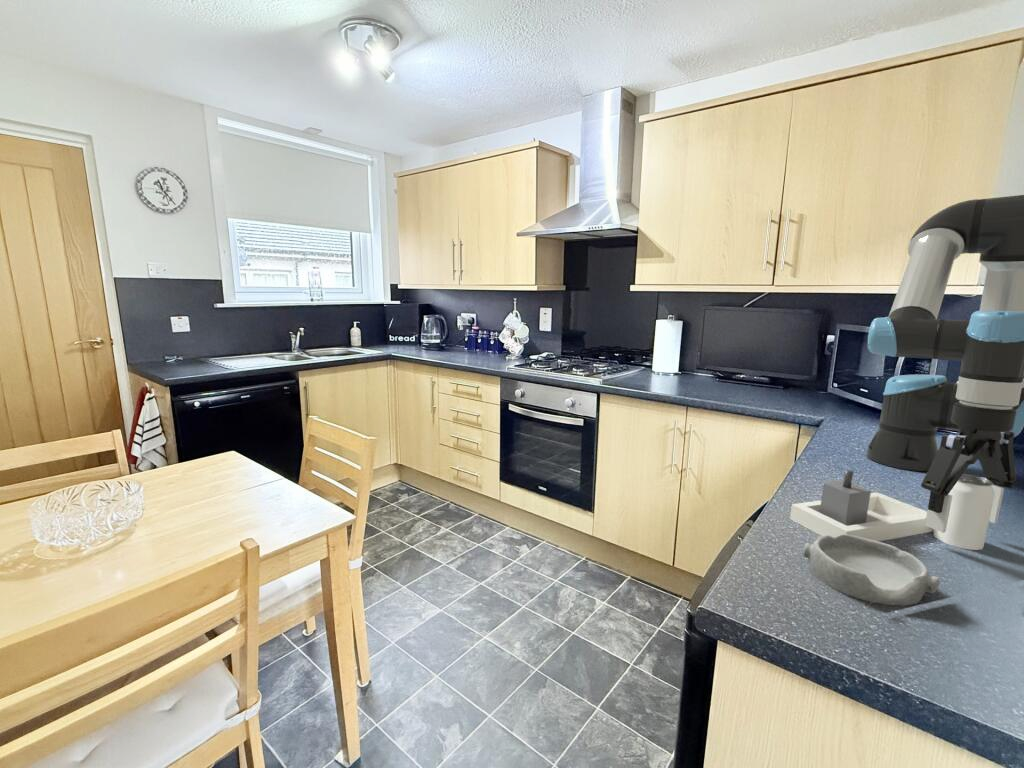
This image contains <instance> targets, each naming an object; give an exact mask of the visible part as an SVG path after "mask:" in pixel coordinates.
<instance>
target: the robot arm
mask: <svg viewBox="0 0 1024 768" xmlns="http://www.w3.org/2000/svg"><path fill="white" fill-rule="evenodd" d="M907 254H908V255H909V259H908V261H907V262H908V263H907V264H906V267H905V270H904V273H903V275H902V278H901V281H900V284H899V287H898V289H897V292H896V295H895V297H894V300H893V303H892V306H891V309H890V311H889V314H888V316H885V317H876V318H874V319H873V320H872V321H871V324H870V326H869V328H868V329H869V330H868V335H867V349H868V351H869V352H870V353H871V354H874V355H880V356H888V357H893V358H895V357H897V358H899V357H900V358H914V359H927V360H928V359H929V360H930V359H931V360H940V361H950V362H961V365H960V366H961V367H960V371H959V375H958V378H957V381H956V382H949V381H948V379H947V377H946V376H945V375H942V374H939V375H938V374H904V375H903V374H902V375H893V376H891V377H889V378H888V380H887V381H886V383H885V387H884V392H882V395H883V400H882V406H881V412H880V417H879V422H878V423H879V424H878V429H877V431H876V433H875V434H874V436H873V438H872V439H871V441H870V443H869V445H867V449H866V453H865V455H866V457H867V459H869V460H871V461H873V462H876V463H879V464H881V465H885V466H888V467H891V468H897V469H901V470H909V471H916V472H917V471H918V472H926V474H925V475H924V478H923V481H922V482H921V485H920V486H921V488H922V489H925V490H927V491H929V492H930V494H929V500H928V505H927V510H926V511H927V515H926V521H925V526H927V527H930V528H932V529H934V530H937V531H939V532H942V533H944V532H946V527H947V522H948V517H949V512H950V506H951V501H952V496H951V495H948V494H949V493H950V491H951V490H952V488H953V487H954V486H955V484H956V483H957V481H958V480H959V479H960V477H961V476H962V474H965V471H967V469H968V467H969V466H970V465H974V464H975V463H977V461H979V463H980V466H981V469H982V471H983V474H984V478H985V479H987V480H989V481H991V482H992V483H993V485H992V488H993V490H994V499H993V505H992V509H991V514H990V519H989V523H993V524H998V520H999V514H1000V511H1001V505H1002V501H1003V498H1004V497H1003V496H1004V492H1005V488H1007V489H1013V488H1014V486H1015V482H1016V480H1017V474H1016V465H1015V455H1014V444H1013V443H1014V439H1015V437H1017V436H1019V435H1020V434H1021V432H1022V430H1023V428H1024V194H1020V195H1010V196H1009V195H1007V196H997V197H990V198H980V199H978V198H977V199H968V200H965V201H962V202H958V203H955V204H951V205H950V206H948V207H946V208H944V209H942V210H939V211H938V212H937V213H935V214H933V215H932V216H931V217H930V218H928V219H926V221H924V222H923V223H922V224H920V226H919V227H918V228H917V230H916V231H915V232H914V233H913V235H912V236H911V239H910V240H909V243H908V247H907ZM962 254H964V255H965V254H970V255H971V254H980V256H979V263H980V264H981V266H982V265H983V267H985V269H986V273H985V278H984V285H983V290H982V295H981V300H980V301H981V302H980V305H979V310H976V311H974V312H972V313H971V315H970V319H968V320H963V319H939V318H938V317H939V313H940V309H941V306H942V303H943V300H944V296H945V291H946V289H947V286H948V283H949V279H950V275H951V272H952V268H953V264H954V261H955V260H956V259H958V258H959V257H960V256H961V255H962ZM938 429H943V430H950V431H956V432H957V433H956V435H953V434H950V433H947V432H946V433H943V434H942V436H941V441H940V445H939V446H938V442H937V439H936V436H937V431H938Z"/></svg>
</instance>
